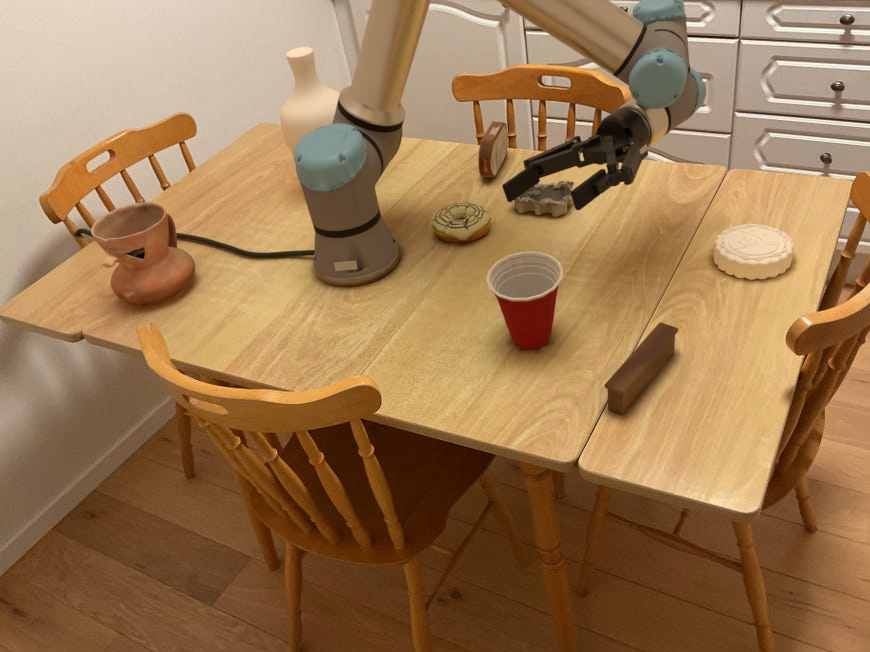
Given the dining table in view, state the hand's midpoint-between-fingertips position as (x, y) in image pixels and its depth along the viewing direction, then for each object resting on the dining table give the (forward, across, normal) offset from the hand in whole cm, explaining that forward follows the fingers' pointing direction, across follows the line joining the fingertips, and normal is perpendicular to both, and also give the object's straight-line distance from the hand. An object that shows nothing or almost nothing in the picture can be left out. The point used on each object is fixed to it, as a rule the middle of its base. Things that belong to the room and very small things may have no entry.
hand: (539, 197), depth 108 cm
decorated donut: (-7, +32, -14) cm, 36 cm away
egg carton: (-22, +26, -16) cm, 38 cm away
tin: (-29, +45, -13) cm, 55 cm away
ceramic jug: (+37, +63, -4) cm, 74 cm away
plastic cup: (+9, +1, -19) cm, 21 cm away
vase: (-5, +68, -6) cm, 68 cm away
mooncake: (-28, -13, -25) cm, 40 cm away
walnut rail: (+6, -17, -23) cm, 29 cm away
